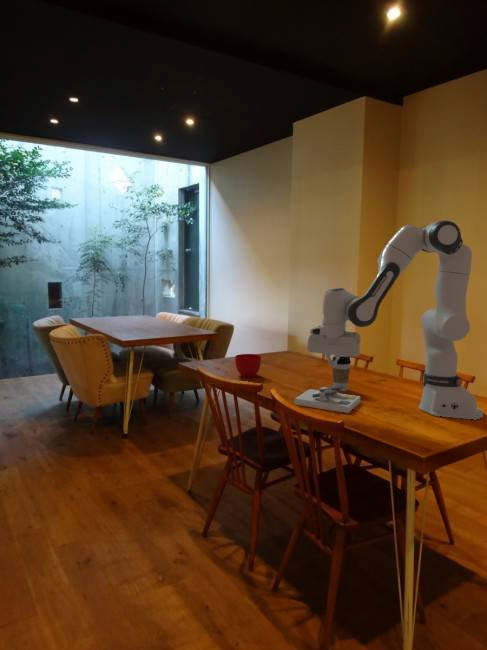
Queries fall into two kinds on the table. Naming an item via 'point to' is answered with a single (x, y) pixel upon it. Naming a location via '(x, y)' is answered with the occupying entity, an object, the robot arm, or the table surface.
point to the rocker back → (332, 388)
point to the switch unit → (328, 401)
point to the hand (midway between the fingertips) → (332, 365)
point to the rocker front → (327, 393)
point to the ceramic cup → (248, 364)
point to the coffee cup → (341, 372)
